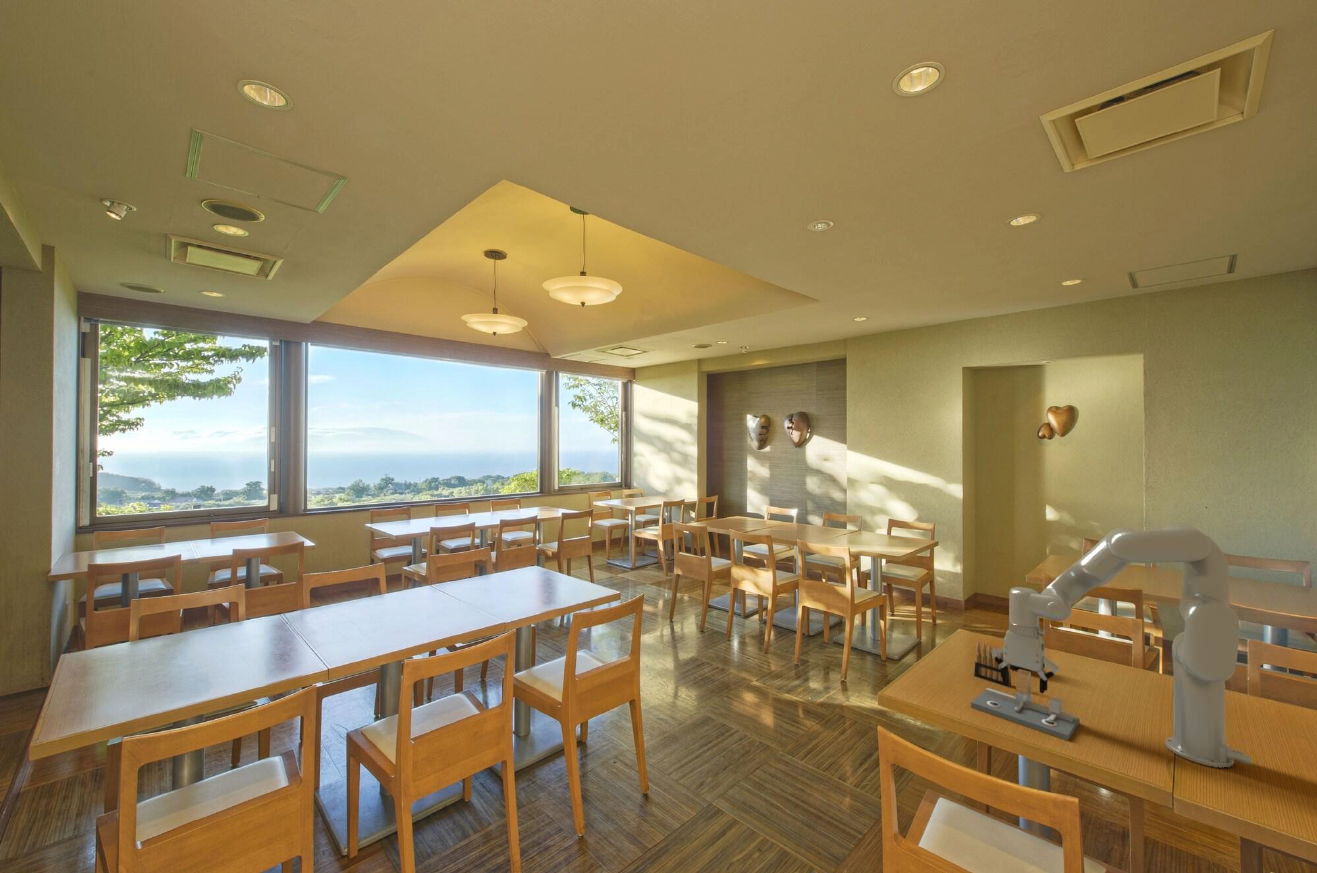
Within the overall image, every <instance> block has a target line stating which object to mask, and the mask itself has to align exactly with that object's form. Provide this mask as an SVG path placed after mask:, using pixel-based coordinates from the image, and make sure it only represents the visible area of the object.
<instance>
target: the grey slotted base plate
mask: <svg viewBox="0 0 1317 873" xmlns="http://www.w3.org/2000/svg"><path fill="white" fill-rule="evenodd" d="M1018 705H1019V700H1016V695H1015V696H1014V695H1011V694H1008V693H1005V692H1003V691H999V690H996V689H992V688H989V687H987V688H985V690H984V691H983V692H981V693H980V694H979V695H978V696H977V697H975V699H973V700H972V701H971V702H970V708H972V709H976V710H978V711H981V712H983V713H986V714H989V715H992V716H995V717H998V718H1001V719H1004V720H1007V721H1010V722H1013V723H1016V724H1017V725H1021V726H1023V727H1027V728H1029V729H1032V730H1036V731H1038V732H1041V733H1044V734H1048V735H1050V736H1052V737H1055V738H1059V739H1061V740H1064V741H1067V742H1068V741H1069V740H1070V738H1071V737H1072V735H1073V734H1074V732H1075V731H1076V729H1077V728H1078V727H1079V725H1080V723H1081V722H1080V718H1079V717H1078V716H1077V717H1076V716H1074V714H1072V713H1068V712H1065V711H1063V699H1061V698H1057V697H1054V696H1051V697H1050V699H1049V700H1048V706H1046V705H1044V704H1040V703H1037V702H1033V701H1031V700H1030V701H1029V702H1028V703H1025V702H1024V707H1023V708H1022V709H1021V710H1020V711H1019V712H1016V711H1015V709H1014V708H1015V707H1017V706H1018Z"/></svg>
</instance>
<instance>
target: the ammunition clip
mask: <svg viewBox="0 0 1317 873" xmlns="http://www.w3.org/2000/svg"><path fill="white" fill-rule="evenodd" d="M986 647H987V646H986V644H985V643H983V644H982V646H981V645H980V642H978V641H977V642H976V648H975V649H976V650H975V660H974V661H975V662H974V677H976V678H979V679H983V680H985V681H988V682H992V683H994V684H997V685H1001V686H1004V687H1005V688H1010V687H1011V686H1012V678H1011V669H1010V664H1007V666H1008V680H1007V681H1006V682H1003V681H1002V677H1001V668H1000V667H999V664H998V663H997V662H996V661H995V660H994V657H993V655H992V653H991V650H993V649H998V648H997V646H995V647H994V648H992V647H991V645H990V644H989V645H988V647H987V648H986ZM998 655H999V657H1000V658H1001V659H1002V660H1003V661H1004V659H1003V653H998Z"/></svg>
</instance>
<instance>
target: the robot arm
mask: <svg viewBox="0 0 1317 873" xmlns="http://www.w3.org/2000/svg"><path fill="white" fill-rule="evenodd" d="M1132 563H1137V564H1138V563H1139V564H1157V563H1159V564H1160V563H1161V564H1162V563H1164V564H1165V563H1181V565H1182V571H1183V572H1182V586H1181V587H1182V588H1181V593H1180V594H1181V596H1180V601H1179V607H1178V608H1179V610H1178V611H1179V614H1180V615H1181V618H1182V619H1183V620H1184V631H1182V632H1180V633H1179V634H1177V635H1176V636H1175V637H1174V639H1173V641H1172V644H1171V655H1172V656H1171V657H1172V666H1173V736H1169V737H1167V738H1166V739H1165V746H1166V748H1168V750H1170V751H1171V752H1172V751H1173V752H1172V753H1173V754H1176V755H1178V756H1179V757H1182V758H1183V759H1186V760H1188V761H1191V762H1194V763H1197V764H1201V765H1204V766H1207V767H1212V766H1213V768H1218V767H1219V768H1220V769H1225V768H1224V767H1229V768H1231V767H1230V766H1232V765H1233V764H1235V761H1238V762H1240V763H1243V764H1246V765H1250V766H1252V756H1249V755H1246V754H1245V752H1244V751H1241V750H1238V749H1234V748H1232V747H1231V746H1228V740H1226V681H1228V680H1229V679H1230V678H1232V676H1233V675H1234V673H1235V671H1236V667H1237V661H1238V654H1239V653H1238V652H1239V645H1240V644H1239V643H1240V635H1241V634H1240V633H1241V632H1240V631H1241V626H1240V622H1239V617H1238V616H1237V614H1236V612H1235V611H1234V610H1233V609H1232V608H1231V607H1230V603H1229V600H1230V599H1229V596H1230V568H1229V566H1230V565H1229V563H1228V560H1227V557H1226V556H1225V554H1224V552H1223V551H1222V549H1221V547H1220V546H1219V545H1218V544H1217V543H1216V542H1215V541H1214V540H1213V539H1212V538H1211V537H1210V536H1208V535H1207V534H1206V533H1204V532H1202V531H1201V530H1200V529H1197V528H1196V527H1193V526H1192V525H1188V524H1186V523H1179V522H1178V523H1171V524H1168V525H1166V526H1164V527H1163V529H1154V530H1136V529H1134V528H1131V527H1128V526H1127V527H1126V526H1120V527H1117V528H1114V529H1112V530H1110V531H1109V532H1108V533H1107V534H1105V535H1104V536H1103V537H1102V538H1101V539H1100V540H1099V541H1098V542H1097V543H1096V544H1095V545H1094V546H1092V548H1091V549H1089V550H1088V551H1087V552H1086V553H1085V554H1084V555H1083V556H1081V557H1080V558H1079V559H1078V560H1077V561H1076V562H1075V563H1072V565H1071V566H1070V567H1068V568H1067V569H1066V570H1065V571H1063V572H1062V573H1061V574H1059V576H1057V577H1056V578H1055V579H1054V580H1053V581H1052V582H1051V583H1050V584H1049V585H1047V587H1045V588H1044V589H1043V590H1042V592H1041V593H1038V591H1037V590H1034V589H1033V588H1029V587H1023V586H1016V587H1012V588H1010V590H1009V593H1008V595H1009V596H1008V599H1009V600H1008V602H1009V604H1008V607H1009V608H1008V612H1009V614H1008V617H1009V618H1008V619H1009V621H1008V629H1007V630H1006V633H1005V636H1004V637H1005V642H1004V641H1003V642H1004V644H1003V647H998V648H997V649H994V648H992V650H991V653H992V658H993V657H994V660H995V661H996V662H997V663H998V664H999V667H1000V668H1001V677H1002V681H1003V682H1006V681H1007V680H1008V666H1007V664H1010V665H1014V666H1017V667H1021V668H1024V669H1028V670H1029V671H1032V672H1036V673H1037V674H1038V676H1040V679H1039V693H1040V694H1044V693H1045V692H1046V691H1048V680H1049V679H1050V678H1053V677H1054V676H1055V674H1056V673H1057V672H1058V670H1059V669H1060V668H1059V666H1058V665H1057V664H1055V663H1053V661H1050V660H1049V659H1048V658H1046V652H1045V650H1046V649H1045V645H1044V644H1045V643H1044V639H1043V636H1042V635H1044V636H1045V634H1046V631H1045V630H1044V629H1041V627H1040V626H1041V625H1040V618H1044V619H1047V620H1050V621H1051V620H1052V621H1055V622H1061V621H1065V620H1067V619H1069V618H1070V617H1071V615H1072V611H1073V609H1072V605H1073V604H1074V603H1076V601H1077V600H1079V599H1080V598H1081V597H1082V596H1084V594H1086V593H1088V592H1089V591H1090V590H1092V589H1095V588H1097V587H1102V586H1105V585H1107V584H1108V583H1109V582H1111V581H1112V580H1113V579H1114V578H1115V577H1117V576H1118V575H1119V574H1120V573H1121V572H1122V571H1123V570H1125V568H1127V567H1128V566H1129V565H1131V564H1132ZM999 653H1003V659H1004V661H1003V660H1002V659H1001V658H1000V657H999ZM1046 666H1047V667H1049V668H1050V670H1049V671H1048V672H1047V671H1046V669H1045V668H1046ZM1233 766H1234V765H1233ZM1233 766H1232V767H1233ZM1222 767H1223V768H1222Z"/></svg>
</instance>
